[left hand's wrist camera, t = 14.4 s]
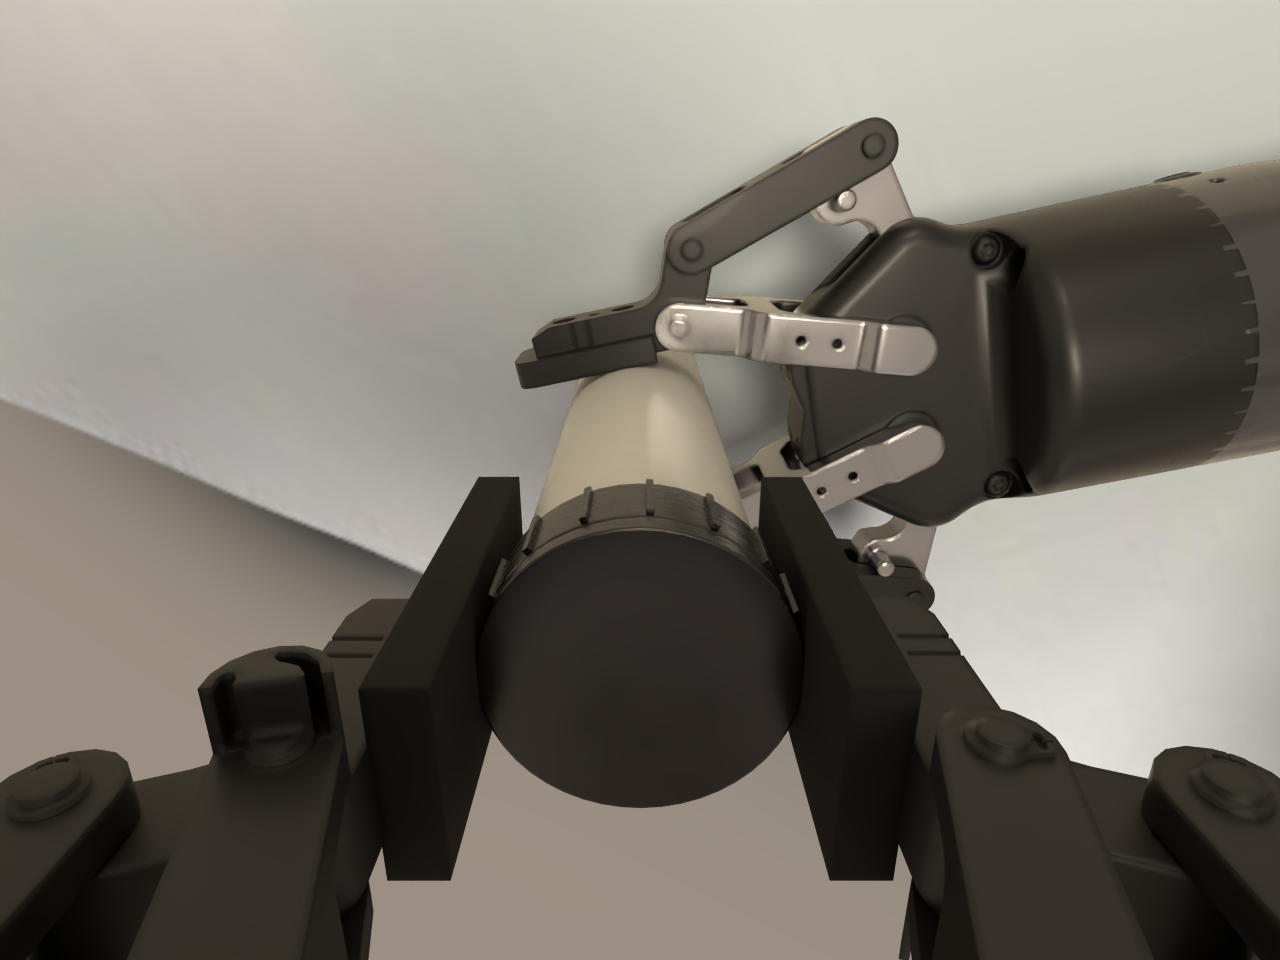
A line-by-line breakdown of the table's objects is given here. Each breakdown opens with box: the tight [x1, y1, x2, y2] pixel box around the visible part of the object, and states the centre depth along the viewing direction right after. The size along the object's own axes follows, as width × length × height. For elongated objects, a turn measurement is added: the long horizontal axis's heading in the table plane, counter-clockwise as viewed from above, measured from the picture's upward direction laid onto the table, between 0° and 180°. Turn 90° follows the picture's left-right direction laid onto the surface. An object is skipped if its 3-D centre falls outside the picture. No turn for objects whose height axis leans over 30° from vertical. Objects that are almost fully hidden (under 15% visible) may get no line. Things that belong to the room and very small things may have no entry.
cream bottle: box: [534, 350, 750, 527], centre depth 19 cm, size 4×4×17 cm
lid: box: [476, 479, 805, 808], centre depth 11 cm, size 5×5×2 cm
